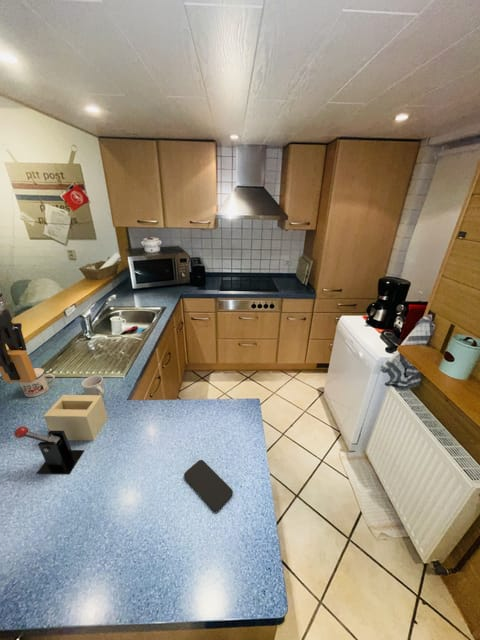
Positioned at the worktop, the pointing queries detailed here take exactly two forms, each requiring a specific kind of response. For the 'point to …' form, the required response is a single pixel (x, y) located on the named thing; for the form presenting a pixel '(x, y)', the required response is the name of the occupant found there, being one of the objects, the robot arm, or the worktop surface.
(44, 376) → the teacup with lid
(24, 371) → the toast
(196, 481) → the phone
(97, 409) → the toaster
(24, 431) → the lever
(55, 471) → the toaster lever bracket
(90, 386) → the cup
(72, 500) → the worktop surface
